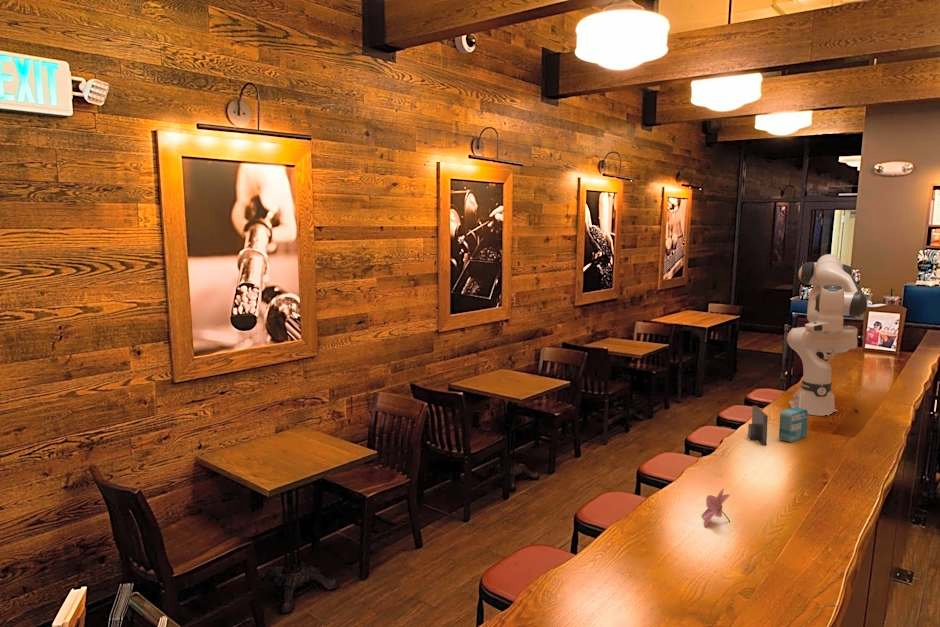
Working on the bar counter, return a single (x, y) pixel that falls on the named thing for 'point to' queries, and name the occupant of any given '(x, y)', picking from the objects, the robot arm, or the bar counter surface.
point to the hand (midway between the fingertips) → (828, 359)
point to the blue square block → (793, 424)
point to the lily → (714, 506)
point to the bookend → (758, 426)
